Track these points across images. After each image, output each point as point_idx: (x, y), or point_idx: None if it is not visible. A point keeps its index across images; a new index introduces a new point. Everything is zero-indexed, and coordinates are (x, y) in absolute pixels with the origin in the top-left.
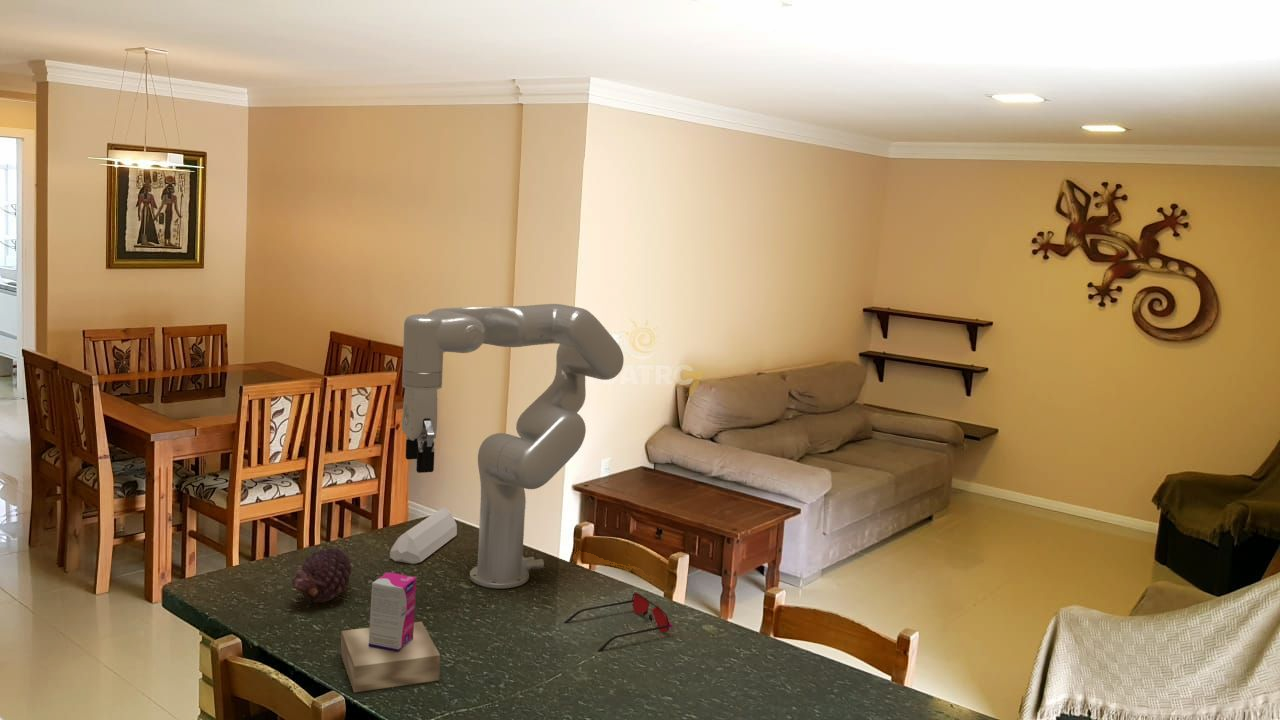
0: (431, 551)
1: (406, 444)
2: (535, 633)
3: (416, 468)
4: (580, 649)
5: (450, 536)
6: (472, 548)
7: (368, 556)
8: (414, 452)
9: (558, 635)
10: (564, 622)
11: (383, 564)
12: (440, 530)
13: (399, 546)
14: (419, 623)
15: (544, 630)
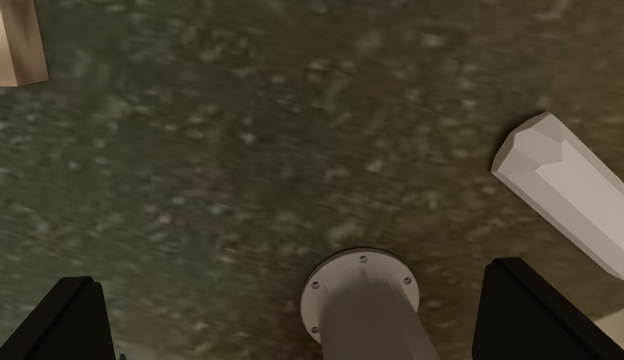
0: (530, 204)
1: (585, 339)
2: None
3: (74, 288)
4: None
5: (594, 258)
6: None
7: (581, 65)
8: (505, 347)
9: None
10: (121, 355)
11: (519, 90)
12: (597, 245)
13: (534, 134)
14: (5, 78)
15: None
